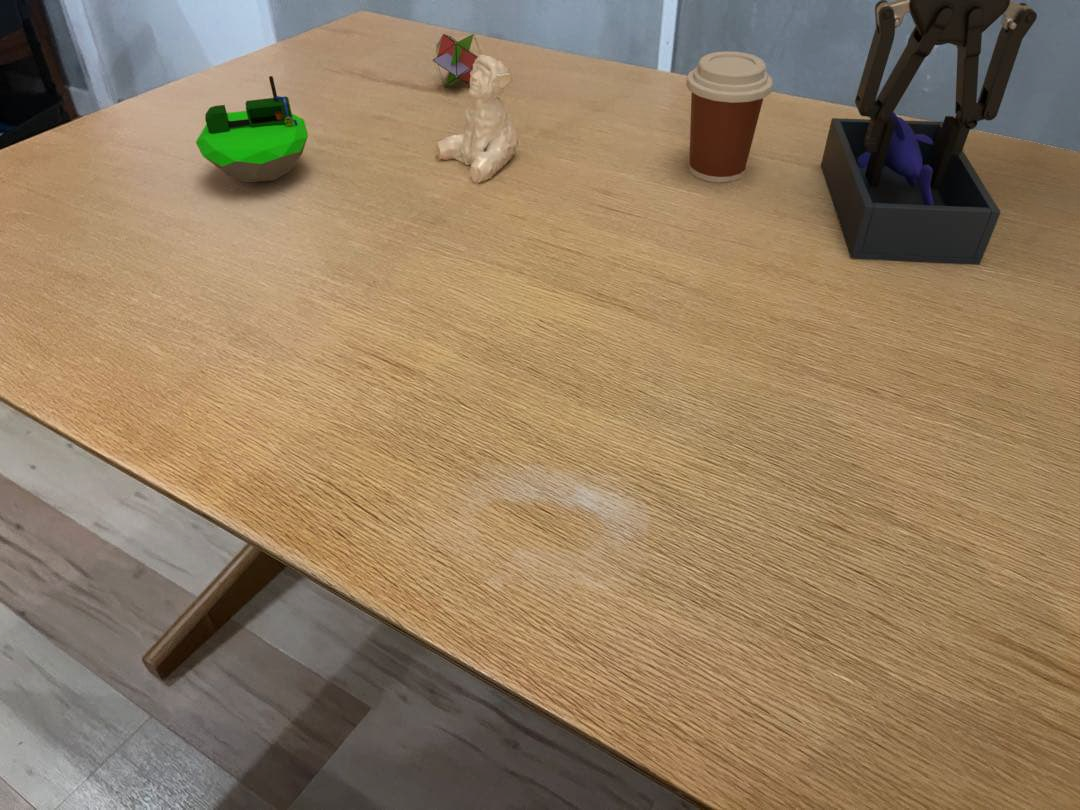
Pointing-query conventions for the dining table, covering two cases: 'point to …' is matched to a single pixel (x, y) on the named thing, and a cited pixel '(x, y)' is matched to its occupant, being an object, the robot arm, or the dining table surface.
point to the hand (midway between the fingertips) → (901, 181)
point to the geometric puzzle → (455, 58)
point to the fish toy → (906, 157)
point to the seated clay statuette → (484, 123)
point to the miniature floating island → (254, 139)
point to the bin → (906, 203)
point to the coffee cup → (725, 113)
